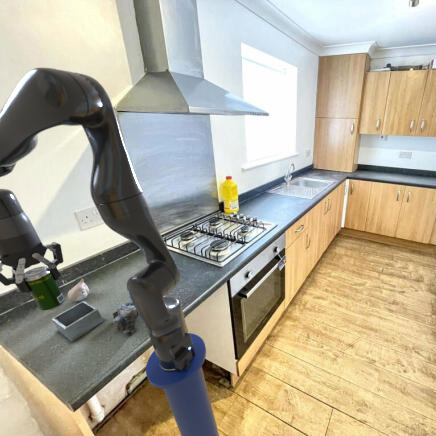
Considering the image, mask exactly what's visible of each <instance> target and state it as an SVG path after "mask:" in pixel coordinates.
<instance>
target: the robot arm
mask: <svg viewBox="0 0 436 436" xmlns="http://www.w3.org/2000/svg"><path fill="white" fill-rule="evenodd" d="M59 126H66V127H77V126H78V127H79V126H81V127H82V129H83V131H84V133H85V136H86V138H87V140H88V143H89V146H90V148H91V154H92V164H91V165H92V166H91V173H90V183H89V193H90V198H91V200H92V202H93V204H94V206H95V208H96V211H97V212H98V214H99V216H100V218H101V220H102V221H103V223H104V225H105V226H107V227H108V228H109V229H110V230H111V231H113V232H115V233H116V234H117V235H119V236H121V237H123V238H125V239H127V240H128V241H130V242H131V243H133V244H135V245H136V246H137V247H138V248H139V250H140V251H141V253H142V254H143V257H144V258H145V261H146V265H144V266H143V267H141V268H140V269H139V270H137V271H136V272H135V273H134V274H132V275H131V276H130V277H129V278H128V279H127V281H126V289H127V293H128V296H130V298H131V300H132V302H133V304H134V306H135V308H136V313H137V315H138V317H140V318H141V320H142V321H143V322H144V325H145V328H146V331H147V334H148V336H149V339H150V342H151V344H152V347H153V351H154V350H155V353H156V356H157V358H158V361H159V365H160V367H161V369H162V370H163V371H166V372H174V371H177V372H180V371H181V370H182V369H183V368H184V367H185V365H186V367H185V370H188V369H189V368H190V363H189V361H190V360H191V359H192V358H193V357H194V356H195V351H194V347H193V343H192V339H191V336H190V332H189V329H188V326H187V323H186V318H185V314H184V311H183V306H182V303H181V301H180V299H178V298H177V297H174V296H169V294H170V293H171V292H172V291H173V290H174V289H175V288H176V287H177V285H178V284H179V283H180V281H181V271H180V269H179V266H178V264H177V262H176V260H175V258H174V257H173V255H172V253H171V251H170V250H169V248H168V246H167V244H166V242H165V240H164V239H163V236H162V234H161V232H160V230H159V228H158V226H157V223H156V221H155V219H154V217H153V213H152V211H151V208H150V206H149V202H148V201H147V198H146V196H145V193H144V190H143V189H142V186H141V185H140V182H139V180H138V178H137V175H136V172H135V169H134V166H133V164H132V161H131V159H130V156H129V153H128V151H127V148H126V146H125V143H124V140H123V136H122V133H121V128H120V126H119V123H118V118H117V116H116V111H115V108H114V106H113V103H112V100H111V98H110V95H109V94H108V92H107V91H106V90H105V88H104V86H103V85H102V84H101V83H100V82H99V81H98V80H97V79H95V78H94V77H92V76H90V75H88V74H84V73H79V72H75V71H69V70H63V69H57V68H53V67H35V68H33V69H31V70H29V71H28V72H26V73H25V74H24V76H23V77H22V78H21V79H20V80H19V82H18V83H17V84H16V86H15V88H14V89H13V90H12V93H11V94H10V95H9V97H8V98H7V100H6V101H5V103H4V104H3V106H2V108H1V109H0V178H3V177H5V176H8V175H9V174H11V173H13V171H14V169H15V167H16V166H17V163H18V162H19V161H21V160H23V159H24V158H26V157H27V156H29V155H30V154H31V153H33V152H34V151H35V149H36V148H37V146H38V144H39V143H38V142H39V136H38V135H39V134H40V133H43V132H45V131H46V130H50V129H52V128H55V127H59ZM47 251H50V252H52V257H53V259H52V261H51V260H50V259H47V258H46V257H45V255H46V253H47ZM63 263H64V255H63V250H62V245H61V243H58V242H56V241H53V242H51V243H48V244H44V243H42V240H41V238H40V236H39V235H38V233H37V231H36V229H35V227H34V225H33V223H32V221H31V218H30V217H29V216H28V215H27V214H26V212H25V211H24V209H23V208H22V205H21V203H20V202H19V200H18V198H17V196H16V194H15V193H14V191H12V190H10V189H8V188H0V283H1V284H2V285H4V286H5V287H8V286H10V285H15V287H16V288H17V290H18V291H19V292H20V293H22V294H24V293H25V294H31V293H30V290H29V288H28V287H27V285H26V283H25V282H24V281H23V274H24V273H25V270H26V269H29V268H31V267H32V266H36V265H39V264H43V265H44V266H46V267H47V268H48V269H49V270H50V271H51V273H52V275H53V277H54V279H55V281H59V280H60V277H61V273H60V271H59V269H58V268H57V266H59V265H60V264H63ZM3 266H7V267H10V268H11V277H8V278H7V277H6V276H5V275H4V274H3V273H2V271H3Z"/></svg>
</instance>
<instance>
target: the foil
mask: <svg viewBox="0 0 436 436" xmlns="http://www.w3.org/2000/svg"><path fill="white" fill-rule="evenodd" d="M120 306H121V307H120ZM120 306H118V308H117V309H116V311H115V312H113V313H112V317H113V319H112V320H111V324H113V326H112V328H114V329H115V330H116V332H118V334H119V333H122V334H126V333H129V332H130V333H131V335H133V333H134V332H135V331H136V320H137V317H138V313H137V310H136V308H135V306H134V304H133V302H132V300H131V298H130V295H128V302H126V303H122V304H120Z"/></svg>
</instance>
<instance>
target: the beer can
mask: <svg viewBox="0 0 436 436" xmlns="http://www.w3.org/2000/svg"><path fill="white" fill-rule="evenodd" d="M23 281H24V282H25V283H26V285H27V287H28V288H29V290H30V293H29V294H30V295H31V297H32V298H33V301H34V302H35V303H36V305H37V307H38V308H39V310H40V311H43V312H46V313H47V312H53V311H55V310H57V309H59V308H61V307H62V306H63V305H64V304H65V302H66V298H65V295H64V293H63V292H62V290H61V288H60V287H59V285H58V283H57V280H55V279H54V277H53V275H52V273H51V271H50V270H49V269H48V266H46V265H44V266H37V267H34V268H31V269H29V270H28V269H27V270H26V271H24V274H23Z"/></svg>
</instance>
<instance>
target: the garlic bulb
mask: <svg viewBox="0 0 436 436" xmlns="http://www.w3.org/2000/svg"><path fill="white" fill-rule="evenodd" d="M84 281H85V279H84V278H82V277H81V279H80V280H79V282H78V283H77V284H76V285H74V286H73V287H72V288H71V289H69V290H68V292H67V299H68V300H69V301H71V302H74V303H76V302H82V301H84V300H85V299H86V298H87V297H88V296H89V294H90V289H89V287H88V285H87V284H86V283H85V282H84Z"/></svg>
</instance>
